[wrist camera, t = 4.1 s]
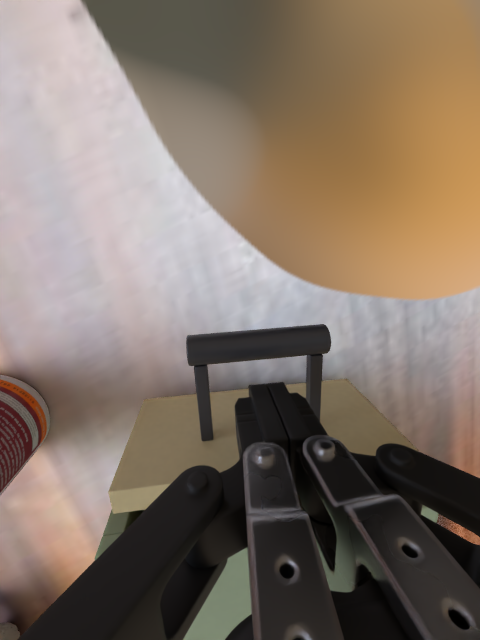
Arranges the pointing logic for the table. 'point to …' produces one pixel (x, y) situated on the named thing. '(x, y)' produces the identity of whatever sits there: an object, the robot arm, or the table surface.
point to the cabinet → (227, 594)
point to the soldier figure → (8, 631)
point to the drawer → (219, 413)
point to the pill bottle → (19, 426)
